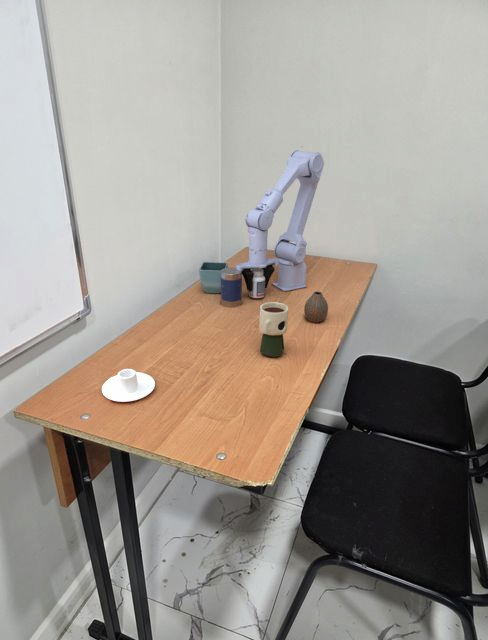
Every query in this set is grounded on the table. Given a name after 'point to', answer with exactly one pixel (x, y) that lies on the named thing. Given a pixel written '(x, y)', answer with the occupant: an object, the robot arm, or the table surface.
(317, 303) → the vase
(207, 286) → the flower pot
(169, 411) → the table surface
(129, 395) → the candle holder
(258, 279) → the pill bottle
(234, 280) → the tin can
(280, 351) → the character mug
